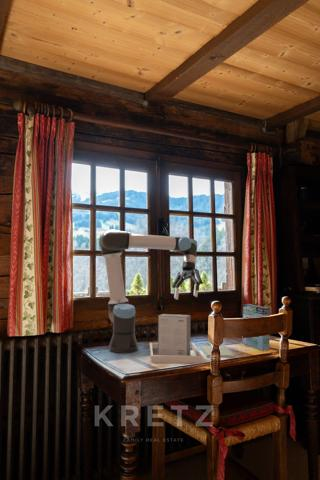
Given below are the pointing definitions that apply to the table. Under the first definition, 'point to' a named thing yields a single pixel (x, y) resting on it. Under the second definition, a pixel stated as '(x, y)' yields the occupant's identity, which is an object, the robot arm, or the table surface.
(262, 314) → the gum box
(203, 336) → the table surface
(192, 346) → the frame
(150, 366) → the table surface
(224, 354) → the mat
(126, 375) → the table surface
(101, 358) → the table surface
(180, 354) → the hard drive box
